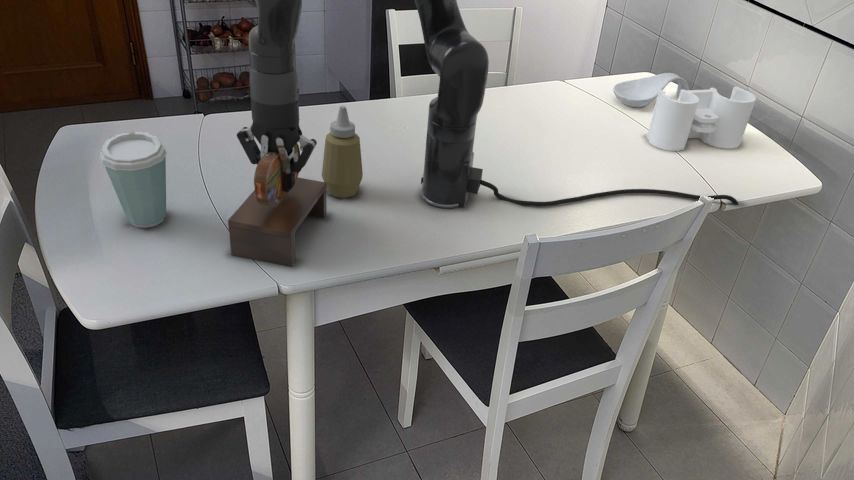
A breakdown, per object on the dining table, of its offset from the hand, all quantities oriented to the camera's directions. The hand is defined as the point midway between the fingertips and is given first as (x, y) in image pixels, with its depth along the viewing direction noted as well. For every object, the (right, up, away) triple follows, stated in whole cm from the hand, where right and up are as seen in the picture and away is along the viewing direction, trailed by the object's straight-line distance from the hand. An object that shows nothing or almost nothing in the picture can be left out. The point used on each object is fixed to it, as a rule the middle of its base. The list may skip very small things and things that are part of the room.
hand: (279, 187), depth 128 cm
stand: (-1, -8, +6) cm, 9 cm away
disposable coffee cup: (-26, -5, +5) cm, 27 cm away
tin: (0, -1, +1) cm, 1 cm away
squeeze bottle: (+8, +2, +20) cm, 22 cm away
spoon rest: (+84, +33, +75) cm, 117 cm away
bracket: (+91, +18, +56) cm, 108 cm away
